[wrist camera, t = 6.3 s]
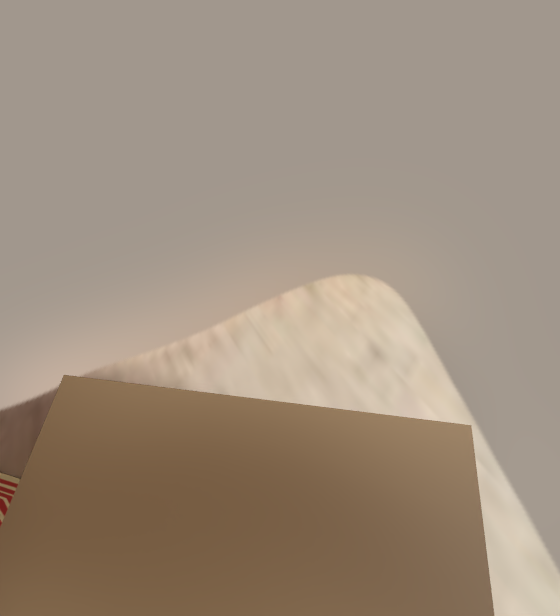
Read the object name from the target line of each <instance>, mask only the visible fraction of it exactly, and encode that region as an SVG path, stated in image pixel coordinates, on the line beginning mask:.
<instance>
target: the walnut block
mask: <svg viewBox="0 0 560 616" xmlns="http://www.w3.org/2000/svg"><path fill="white" fill-rule="evenodd" d="M0 616H494V609H493V601H492V593H491V584H490V576H489V568H488V560H487V551H486V543H485V535H484V527H483V519H482V510H481V502H480V494H479V486H478V478H477V469H476V461H475V453H474V445H473V437H472V428H471V425H464V424H455V423H447V422H439V421H431V420H423V419H415V418H407V417H399V416H391V415H383V414H375V413H367V412H359V411H351V410H343V409H335V408H326V407H318V406H310V405H302V404H294V403H286V402H278V401H270V400H262V399H254V398H246V397H238V396H230V395H222V394H214V393H205V392H197V391H189V390H181V389H173V388H165V387H157V386H149V385H141V384H133V383H125V382H117V381H109V380H101V379H93V378H85V377H76V376H68V375H64V376H63V378H62V381H61V383H60V386H59V388H58V390H57V393H56V395H55V398H54V400H53V402H52V405H51V407H50V409H49V412H48V414H47V417H46V419H45V421H44V424H43V426H42V429H41V431H40V433H39V436H38V438H37V440H36V443H35V445H34V448H33V450H32V452H31V455H30V457H29V460H28V462H27V464H26V467H25V469H24V471H23V474H22V476H21V479H20V481H19V483H18V486H17V488H16V491H15V493H14V495H13V498H12V500H11V502H10V505H9V507H8V510H7V512H6V514H5V517H4V519H3V522H2V524H1V526H0Z"/></svg>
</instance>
